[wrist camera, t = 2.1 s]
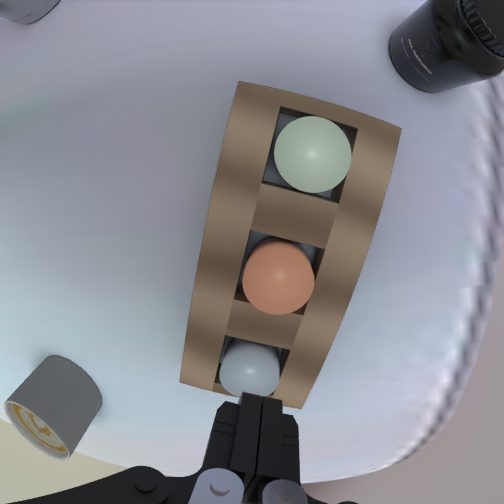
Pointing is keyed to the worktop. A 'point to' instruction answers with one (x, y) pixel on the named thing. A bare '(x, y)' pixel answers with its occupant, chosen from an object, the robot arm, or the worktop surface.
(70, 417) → the coffee mug
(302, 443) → the worktop surface
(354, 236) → the button panel
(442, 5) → the supplement bottle
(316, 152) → the sage button
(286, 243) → the terracotta button
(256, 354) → the slate button
